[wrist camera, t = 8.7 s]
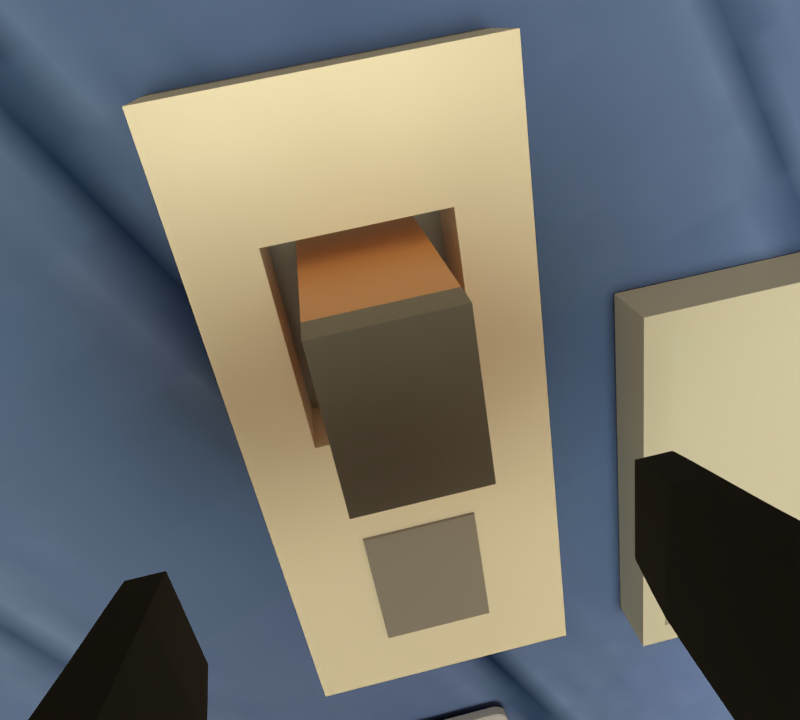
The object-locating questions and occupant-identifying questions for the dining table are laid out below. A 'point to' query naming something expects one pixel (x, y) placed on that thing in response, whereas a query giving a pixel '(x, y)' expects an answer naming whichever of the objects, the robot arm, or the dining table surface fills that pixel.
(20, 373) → the dining table surface
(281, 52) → the dining table surface
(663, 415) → the tray
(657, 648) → the dining table surface
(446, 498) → the power strip
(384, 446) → the plug
